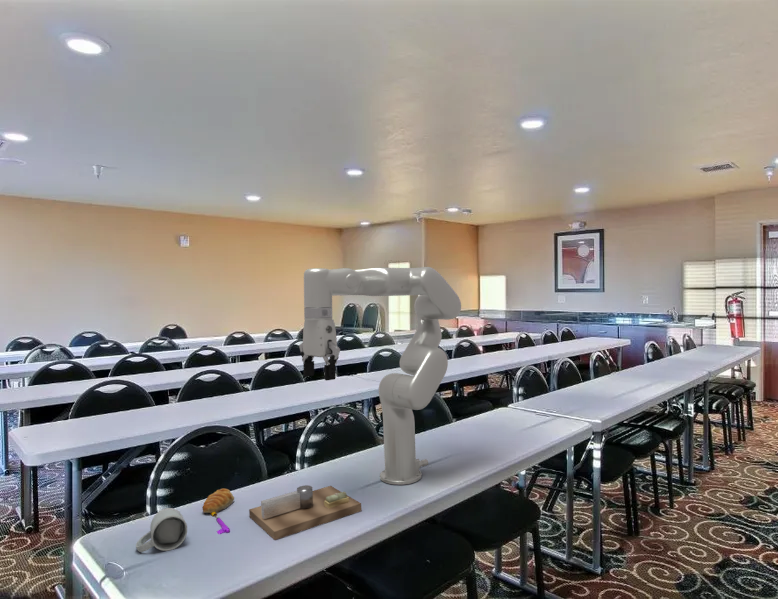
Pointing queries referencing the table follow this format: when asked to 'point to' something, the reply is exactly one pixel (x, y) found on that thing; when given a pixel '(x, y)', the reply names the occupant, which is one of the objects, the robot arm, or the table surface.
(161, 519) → the ceramic mug
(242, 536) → the table surface
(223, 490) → the pastry
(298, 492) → the ball-ended lever
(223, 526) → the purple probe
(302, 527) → the brown wooden board
